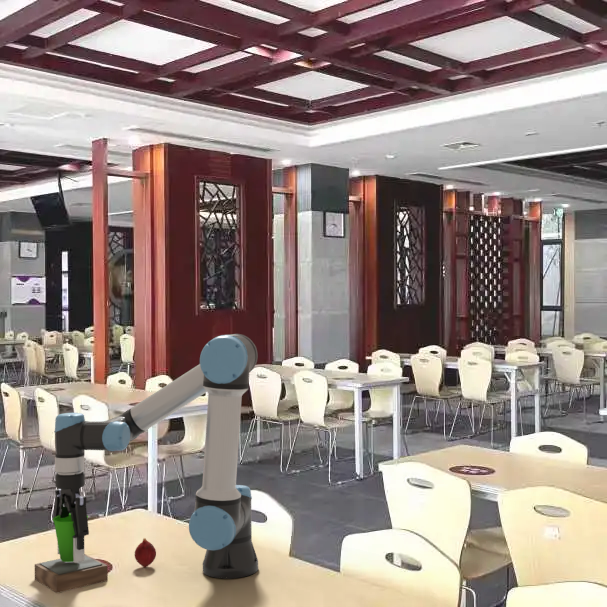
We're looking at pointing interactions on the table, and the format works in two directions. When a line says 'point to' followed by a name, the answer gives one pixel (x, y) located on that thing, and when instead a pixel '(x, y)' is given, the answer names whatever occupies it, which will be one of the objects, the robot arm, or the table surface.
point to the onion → (145, 553)
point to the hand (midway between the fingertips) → (70, 557)
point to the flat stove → (70, 573)
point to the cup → (65, 537)
